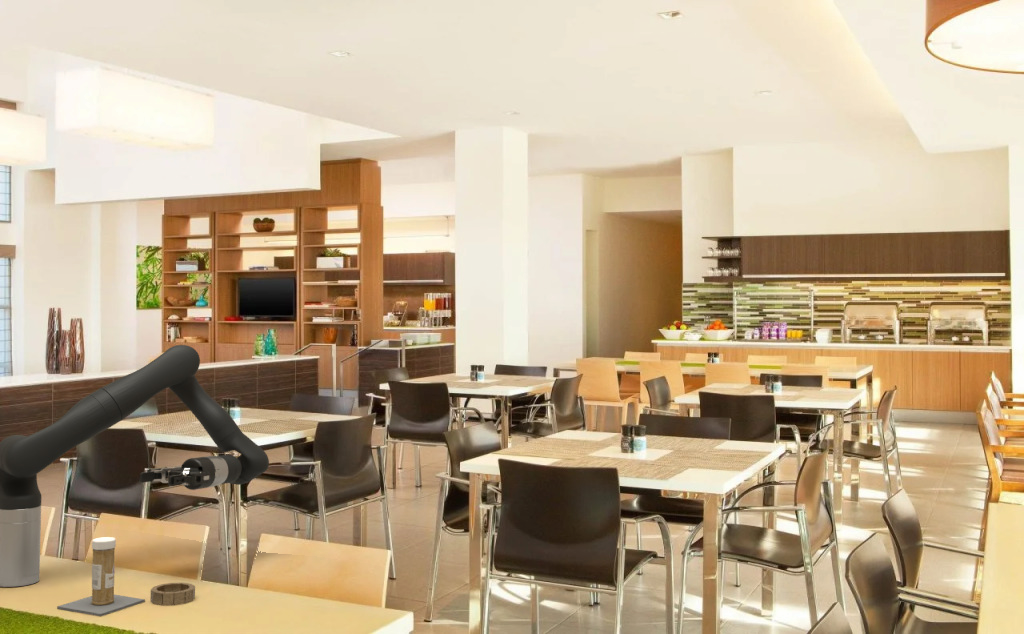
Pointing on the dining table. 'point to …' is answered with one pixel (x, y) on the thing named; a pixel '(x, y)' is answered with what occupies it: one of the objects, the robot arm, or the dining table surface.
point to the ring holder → (172, 593)
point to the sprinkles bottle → (103, 570)
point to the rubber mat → (100, 610)
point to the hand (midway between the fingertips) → (155, 479)
